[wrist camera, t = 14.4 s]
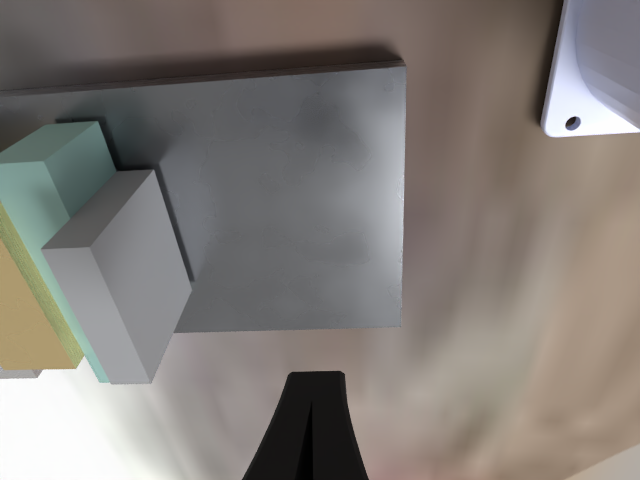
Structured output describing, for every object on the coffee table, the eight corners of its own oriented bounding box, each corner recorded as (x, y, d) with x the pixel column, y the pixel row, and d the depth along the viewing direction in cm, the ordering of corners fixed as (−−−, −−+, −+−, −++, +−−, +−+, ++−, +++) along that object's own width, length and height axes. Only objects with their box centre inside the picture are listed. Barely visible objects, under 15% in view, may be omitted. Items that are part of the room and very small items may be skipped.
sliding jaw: (137, 117, 16) (61, 184, 12) (202, 321, 22) (166, 417, 17) (45, 124, 16) (-62, 191, 12) (132, 323, 22) (79, 418, 18)
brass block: (64, 154, 17) (-14, 213, 14) (123, 292, 21) (75, 368, 17) (-9, 159, 18) (-104, 218, 14) (63, 294, 21) (3, 370, 18)
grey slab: (403, 59, 16) (426, 109, 11) (399, 312, 22) (412, 408, 18) (-117, 99, 17) (-279, 157, 13) (22, 323, 24) (-53, 413, 20)
